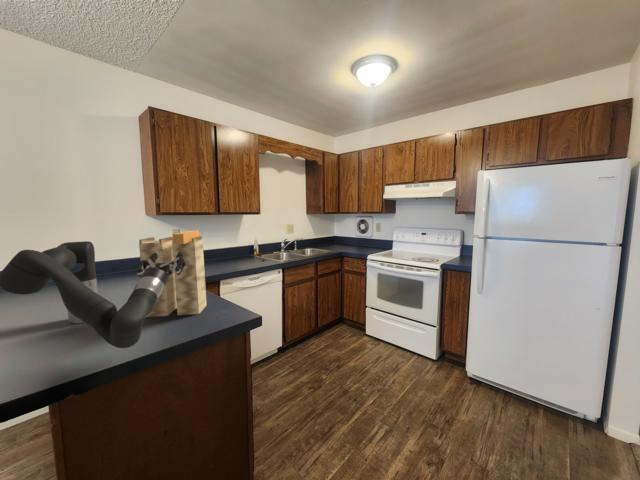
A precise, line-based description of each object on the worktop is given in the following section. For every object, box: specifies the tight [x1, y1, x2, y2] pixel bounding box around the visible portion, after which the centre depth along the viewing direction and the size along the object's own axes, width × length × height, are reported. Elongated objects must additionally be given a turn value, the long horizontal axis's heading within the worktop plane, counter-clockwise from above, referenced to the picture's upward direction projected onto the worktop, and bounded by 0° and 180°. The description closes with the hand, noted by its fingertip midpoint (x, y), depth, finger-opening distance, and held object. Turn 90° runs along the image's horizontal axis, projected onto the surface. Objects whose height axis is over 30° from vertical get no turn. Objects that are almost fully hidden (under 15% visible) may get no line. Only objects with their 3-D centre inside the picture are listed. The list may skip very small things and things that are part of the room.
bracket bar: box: [172, 229, 200, 244], centre depth 115 cm, size 4×20×4 cm, turn 7°
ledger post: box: [172, 235, 207, 316], centre depth 119 cm, size 9×11×34 cm
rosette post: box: [138, 236, 177, 318], centre depth 118 cm, size 9×11×34 cm
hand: (168, 254), depth 98 cm, fingers open, 8 cm apart
